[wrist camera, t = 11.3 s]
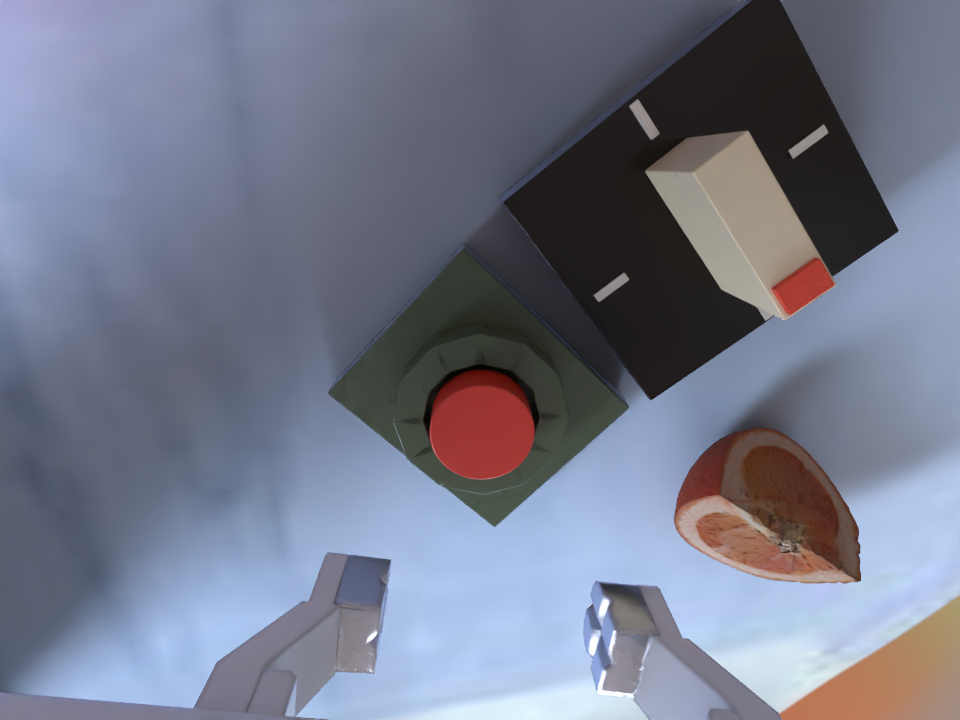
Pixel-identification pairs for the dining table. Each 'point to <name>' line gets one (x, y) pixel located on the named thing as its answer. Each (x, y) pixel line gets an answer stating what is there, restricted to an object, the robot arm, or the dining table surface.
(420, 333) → the button box
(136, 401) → the dining table surface
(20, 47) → the dining table surface
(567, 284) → the control panel
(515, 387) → the button
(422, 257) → the dining table surface
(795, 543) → the fruit slice
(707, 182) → the knob
